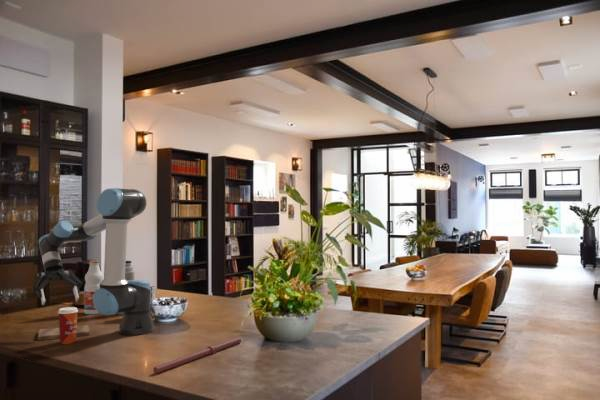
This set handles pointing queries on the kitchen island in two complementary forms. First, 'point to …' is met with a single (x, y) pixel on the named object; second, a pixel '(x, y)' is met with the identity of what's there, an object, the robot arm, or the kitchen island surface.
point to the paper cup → (67, 324)
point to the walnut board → (55, 332)
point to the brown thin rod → (195, 355)
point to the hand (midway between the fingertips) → (61, 301)
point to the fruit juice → (92, 286)
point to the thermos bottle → (128, 274)
